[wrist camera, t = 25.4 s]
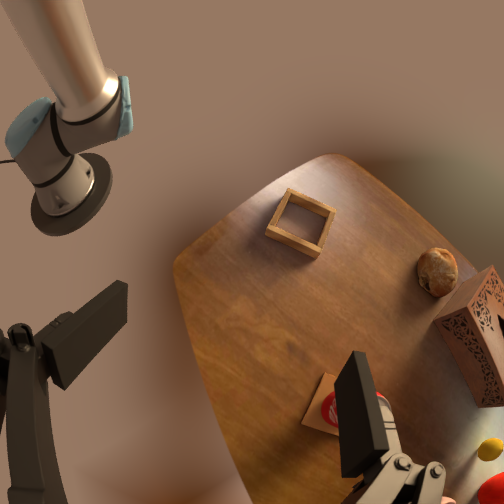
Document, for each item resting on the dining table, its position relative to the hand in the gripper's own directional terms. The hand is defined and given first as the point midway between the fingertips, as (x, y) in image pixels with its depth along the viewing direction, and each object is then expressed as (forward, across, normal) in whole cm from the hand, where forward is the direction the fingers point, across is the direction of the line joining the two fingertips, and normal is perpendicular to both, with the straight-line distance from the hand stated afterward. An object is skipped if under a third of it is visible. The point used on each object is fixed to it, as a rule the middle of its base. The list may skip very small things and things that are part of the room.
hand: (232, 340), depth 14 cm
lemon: (+11, +59, -29) cm, 67 cm away
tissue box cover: (+28, +50, -12) cm, 58 cm away
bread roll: (+37, +35, -2) cm, 51 cm away
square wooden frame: (+38, +5, -1) cm, 38 cm away
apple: (+2, +69, -38) cm, 79 cm away
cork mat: (+17, +18, -22) cm, 33 cm away
